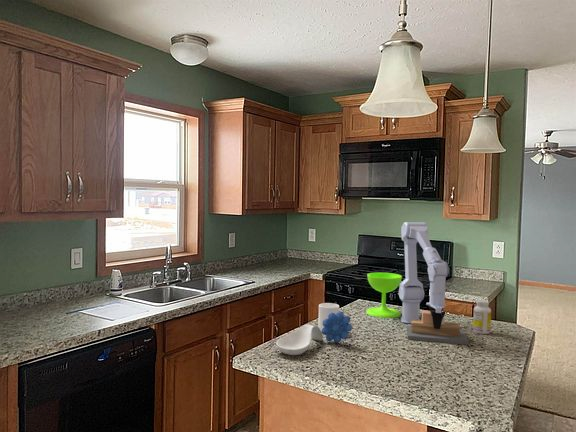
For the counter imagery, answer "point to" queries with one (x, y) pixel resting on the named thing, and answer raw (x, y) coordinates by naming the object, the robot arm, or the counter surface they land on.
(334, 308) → the mug
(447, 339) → the dock
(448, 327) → the pallet
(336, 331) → the blue lobed knob
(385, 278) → the wineglass
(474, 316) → the supplement bottle
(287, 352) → the spoon rest
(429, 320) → the terracotta crate
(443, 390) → the counter surface
